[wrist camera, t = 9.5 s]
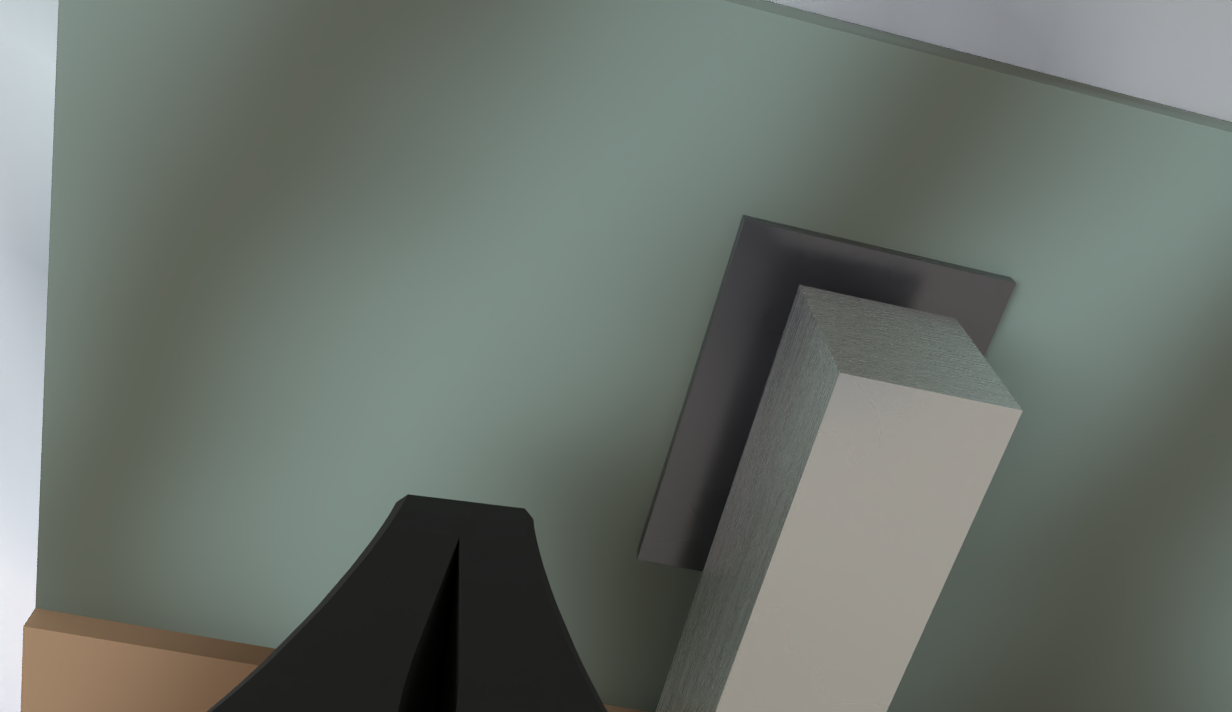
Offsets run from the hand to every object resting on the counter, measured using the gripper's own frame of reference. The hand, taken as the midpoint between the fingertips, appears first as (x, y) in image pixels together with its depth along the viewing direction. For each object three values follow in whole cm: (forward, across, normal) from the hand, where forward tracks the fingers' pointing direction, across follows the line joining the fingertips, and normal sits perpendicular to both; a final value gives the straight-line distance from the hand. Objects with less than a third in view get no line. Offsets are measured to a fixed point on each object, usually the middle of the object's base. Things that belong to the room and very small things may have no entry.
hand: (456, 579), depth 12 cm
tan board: (+5, -4, +6) cm, 8 cm away
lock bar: (+3, -4, +3) cm, 6 cm away
